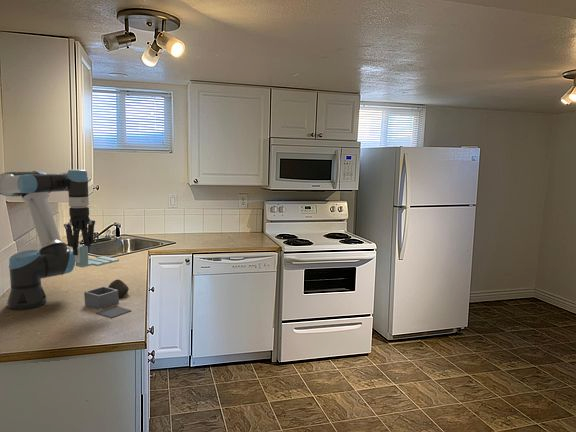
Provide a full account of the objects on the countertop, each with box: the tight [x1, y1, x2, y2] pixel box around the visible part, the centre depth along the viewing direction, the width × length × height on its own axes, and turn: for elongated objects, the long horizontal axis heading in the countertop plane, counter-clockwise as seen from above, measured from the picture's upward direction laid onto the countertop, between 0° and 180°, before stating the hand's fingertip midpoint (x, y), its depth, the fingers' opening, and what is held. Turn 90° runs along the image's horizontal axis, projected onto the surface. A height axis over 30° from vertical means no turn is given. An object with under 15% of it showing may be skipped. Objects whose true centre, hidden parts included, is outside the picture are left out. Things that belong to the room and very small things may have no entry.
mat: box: [95, 305, 132, 319], centre depth 191 cm, size 10×10×1 cm
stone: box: [108, 279, 129, 299], centre depth 213 cm, size 10×8×10 cm
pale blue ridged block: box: [75, 244, 120, 268], centre depth 195 cm, size 11×16×9 cm
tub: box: [84, 286, 120, 310], centre depth 200 cm, size 10×10×6 cm
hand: (81, 261), depth 190 cm, fingers closed on pale blue ridged block, 3 cm apart
